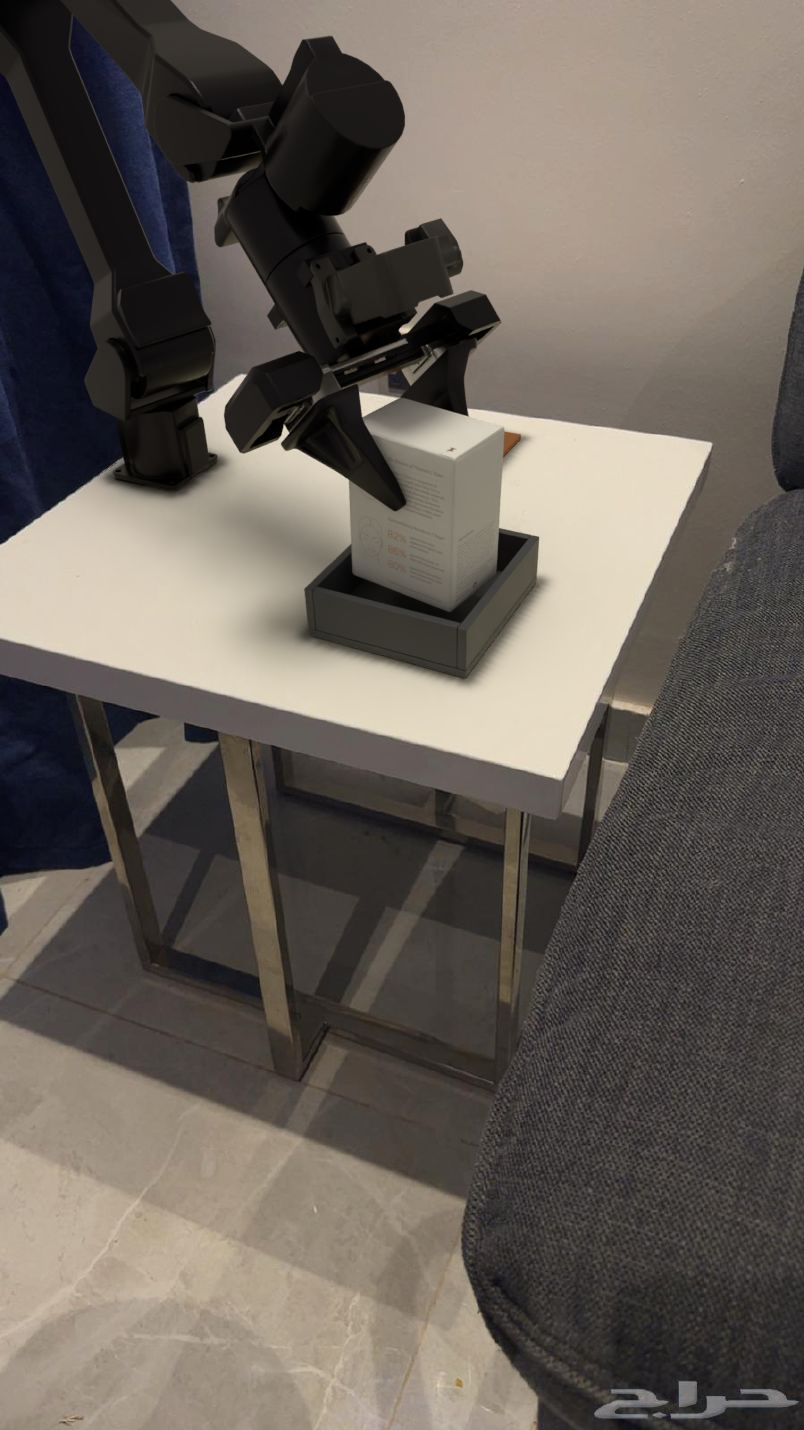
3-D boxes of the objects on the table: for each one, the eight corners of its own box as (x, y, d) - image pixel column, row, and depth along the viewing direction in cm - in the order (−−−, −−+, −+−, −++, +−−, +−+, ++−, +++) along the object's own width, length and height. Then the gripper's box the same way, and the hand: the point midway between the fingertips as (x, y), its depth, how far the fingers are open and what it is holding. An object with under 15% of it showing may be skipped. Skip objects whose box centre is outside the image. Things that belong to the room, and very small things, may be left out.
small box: (497, 578, 68) (509, 425, 61) (449, 616, 64) (456, 458, 58) (399, 541, 71) (400, 393, 65) (349, 575, 68) (344, 422, 61)
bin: (308, 635, 67) (303, 588, 65) (393, 548, 76) (391, 504, 73) (465, 678, 63) (466, 630, 61) (536, 582, 72) (539, 536, 69)
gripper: (228, 209, 50) (390, 487, 51) (484, 146, 60) (616, 380, 61) (163, 332, 60) (301, 565, 61) (393, 260, 70) (509, 462, 71)
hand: (437, 490), depth 63 cm, fingers closed on small box, 6 cm apart
